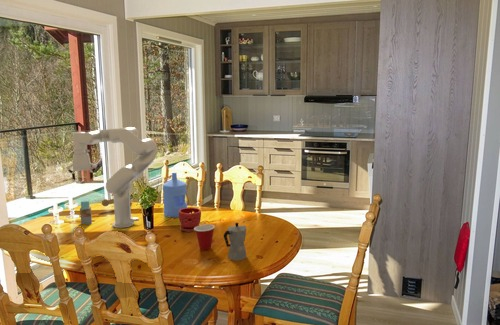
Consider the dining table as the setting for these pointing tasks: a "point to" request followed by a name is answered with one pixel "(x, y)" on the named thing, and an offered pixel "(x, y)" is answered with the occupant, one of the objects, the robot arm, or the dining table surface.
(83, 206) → the teal block
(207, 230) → the plastic cup
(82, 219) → the base block
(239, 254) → the coffeepot
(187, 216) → the plant pot
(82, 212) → the walnut block
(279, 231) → the dining table surface
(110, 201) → the toy helicopter
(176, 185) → the water jug
